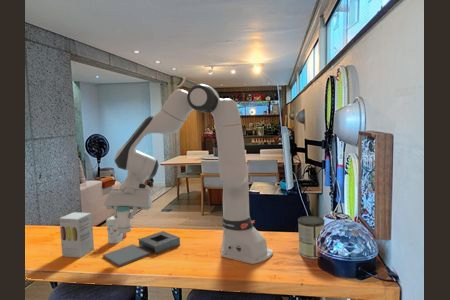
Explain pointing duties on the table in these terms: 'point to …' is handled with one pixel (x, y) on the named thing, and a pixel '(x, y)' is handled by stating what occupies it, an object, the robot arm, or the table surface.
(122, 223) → the teal-capped white cylinder
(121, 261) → the rubber mat
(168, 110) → the robot arm
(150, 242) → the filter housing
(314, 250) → the coffee can
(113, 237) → the ink cartridge box
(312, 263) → the table surface
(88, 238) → the supplement box
